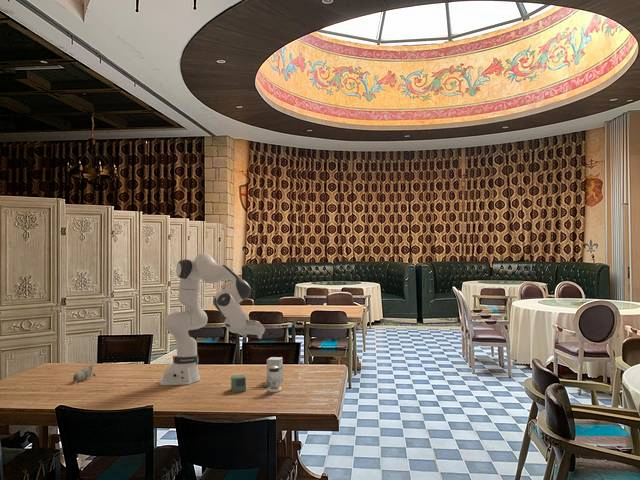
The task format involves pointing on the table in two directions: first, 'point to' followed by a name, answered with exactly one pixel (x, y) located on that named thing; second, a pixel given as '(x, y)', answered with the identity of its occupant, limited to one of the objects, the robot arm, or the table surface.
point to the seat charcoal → (267, 385)
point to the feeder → (238, 383)
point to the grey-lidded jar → (274, 377)
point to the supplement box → (278, 362)
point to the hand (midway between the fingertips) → (252, 337)
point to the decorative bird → (83, 374)
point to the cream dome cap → (275, 389)
